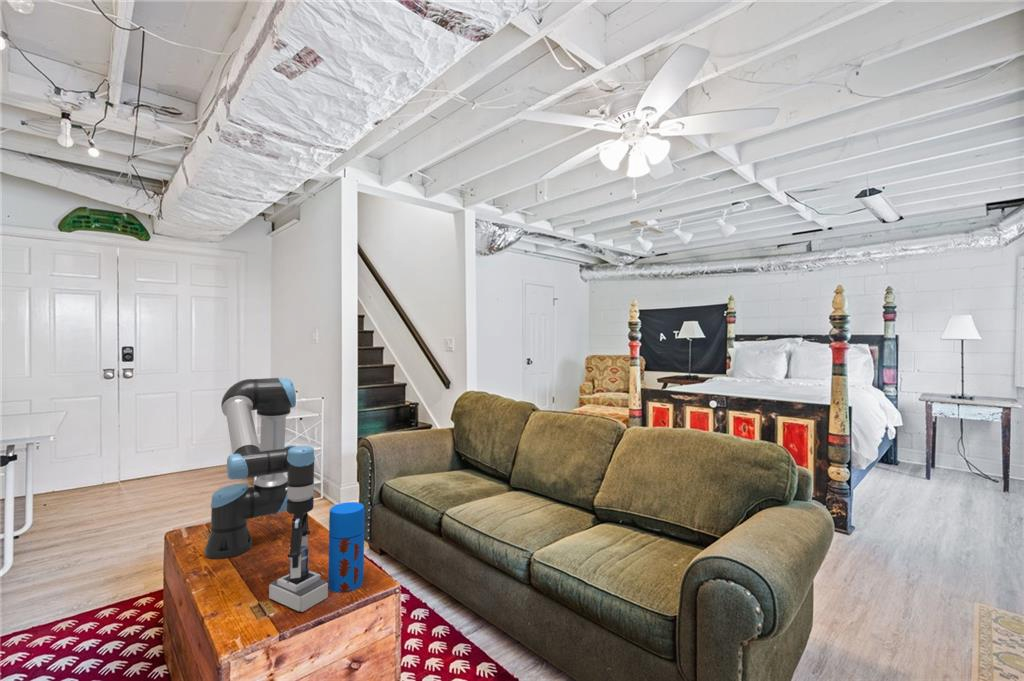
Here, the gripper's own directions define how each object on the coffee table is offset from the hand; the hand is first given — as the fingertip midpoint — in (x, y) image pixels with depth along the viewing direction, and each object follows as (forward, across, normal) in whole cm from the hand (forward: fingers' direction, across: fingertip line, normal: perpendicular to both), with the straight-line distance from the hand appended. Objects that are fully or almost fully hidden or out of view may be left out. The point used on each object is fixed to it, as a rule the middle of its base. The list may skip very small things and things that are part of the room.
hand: (299, 566), depth 142 cm
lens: (+5, 0, 0) cm, 5 cm away
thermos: (+10, -5, +13) cm, 17 cm away
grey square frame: (+10, 0, 0) cm, 10 cm away
